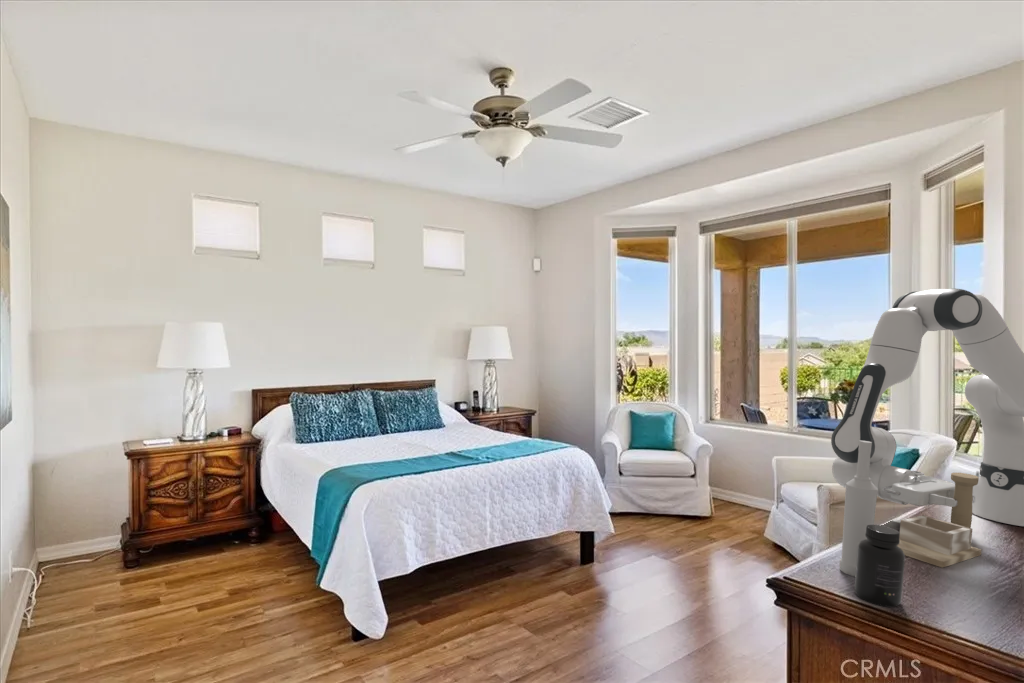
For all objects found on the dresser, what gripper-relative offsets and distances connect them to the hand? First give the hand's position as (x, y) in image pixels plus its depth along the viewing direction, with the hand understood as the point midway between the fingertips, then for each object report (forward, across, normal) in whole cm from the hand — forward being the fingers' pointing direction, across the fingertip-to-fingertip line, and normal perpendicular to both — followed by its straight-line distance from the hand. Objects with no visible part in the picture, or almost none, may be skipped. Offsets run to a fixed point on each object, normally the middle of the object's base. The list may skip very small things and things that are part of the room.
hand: (965, 501), depth 134 cm
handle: (0, 0, +9) cm, 9 cm away
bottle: (+1, -47, +9) cm, 48 cm away
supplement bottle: (+9, -55, +9) cm, 57 cm away
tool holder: (0, -17, +9) cm, 19 cm away
